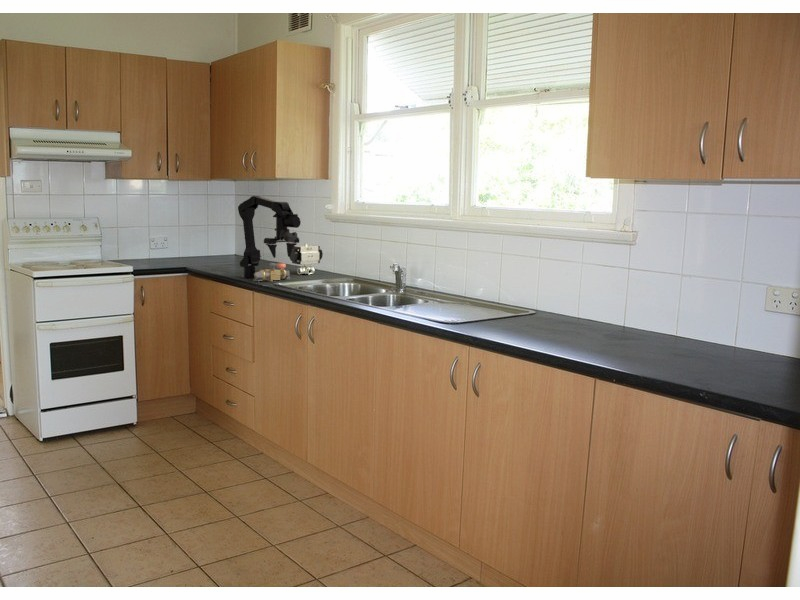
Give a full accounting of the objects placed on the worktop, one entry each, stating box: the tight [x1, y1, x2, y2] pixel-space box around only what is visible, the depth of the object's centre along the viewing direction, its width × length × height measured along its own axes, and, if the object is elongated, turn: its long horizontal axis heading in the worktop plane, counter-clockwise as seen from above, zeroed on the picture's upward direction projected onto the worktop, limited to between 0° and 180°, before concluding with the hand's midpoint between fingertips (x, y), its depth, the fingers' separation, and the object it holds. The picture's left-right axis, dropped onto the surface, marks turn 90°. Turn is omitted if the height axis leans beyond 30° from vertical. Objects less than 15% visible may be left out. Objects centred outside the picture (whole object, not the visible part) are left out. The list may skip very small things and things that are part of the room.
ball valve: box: [288, 242, 324, 276], centre depth 402 cm, size 18×8×18 cm, turn 131°
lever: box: [268, 262, 287, 270], centre depth 373 cm, size 12×4×4 cm, turn 46°
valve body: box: [253, 268, 291, 282], centre depth 377 cm, size 20×6×6 cm, turn 136°
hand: (281, 257), depth 370 cm, fingers open, 9 cm apart
